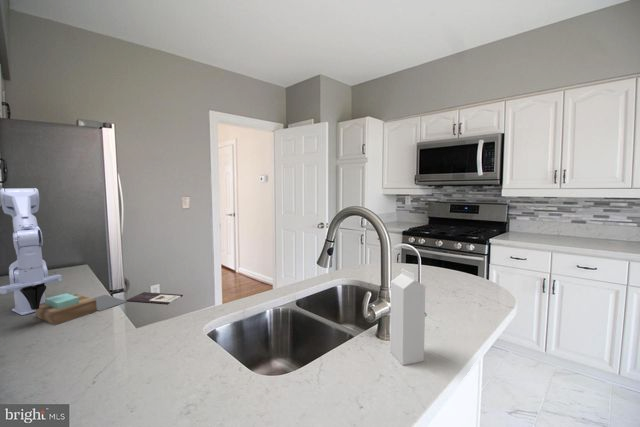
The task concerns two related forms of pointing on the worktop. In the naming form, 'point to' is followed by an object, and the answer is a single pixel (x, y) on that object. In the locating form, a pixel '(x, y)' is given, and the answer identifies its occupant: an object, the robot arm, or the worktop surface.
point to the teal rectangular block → (61, 301)
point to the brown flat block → (66, 311)
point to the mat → (107, 302)
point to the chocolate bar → (155, 298)
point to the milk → (407, 318)
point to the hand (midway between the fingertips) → (35, 308)
